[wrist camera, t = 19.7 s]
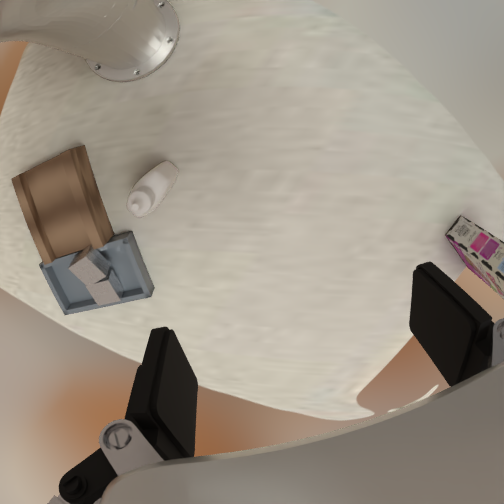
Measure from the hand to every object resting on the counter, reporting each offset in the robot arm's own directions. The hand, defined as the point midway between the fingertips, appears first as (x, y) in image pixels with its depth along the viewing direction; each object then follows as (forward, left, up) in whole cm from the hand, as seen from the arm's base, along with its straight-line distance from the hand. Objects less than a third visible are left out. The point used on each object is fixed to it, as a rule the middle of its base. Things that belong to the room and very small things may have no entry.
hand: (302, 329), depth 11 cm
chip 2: (+10, -23, -27) cm, 37 cm away
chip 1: (+5, -23, -28) cm, 37 cm away
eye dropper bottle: (-2, -11, -31) cm, 33 cm away
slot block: (-4, -25, -30) cm, 39 cm away
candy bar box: (+19, +35, -31) cm, 50 cm away
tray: (+8, -25, -30) cm, 40 cm away
